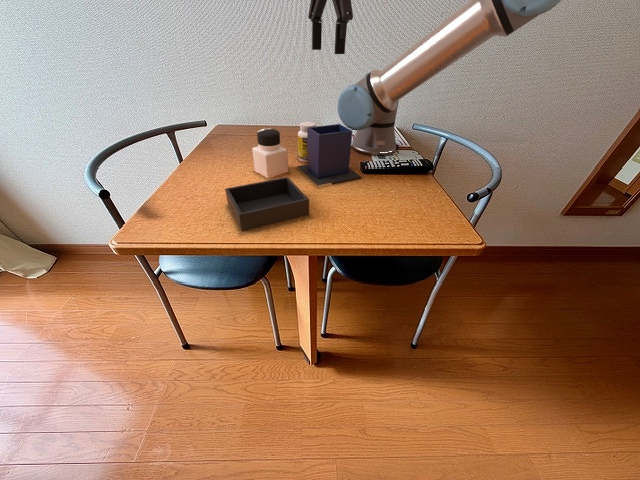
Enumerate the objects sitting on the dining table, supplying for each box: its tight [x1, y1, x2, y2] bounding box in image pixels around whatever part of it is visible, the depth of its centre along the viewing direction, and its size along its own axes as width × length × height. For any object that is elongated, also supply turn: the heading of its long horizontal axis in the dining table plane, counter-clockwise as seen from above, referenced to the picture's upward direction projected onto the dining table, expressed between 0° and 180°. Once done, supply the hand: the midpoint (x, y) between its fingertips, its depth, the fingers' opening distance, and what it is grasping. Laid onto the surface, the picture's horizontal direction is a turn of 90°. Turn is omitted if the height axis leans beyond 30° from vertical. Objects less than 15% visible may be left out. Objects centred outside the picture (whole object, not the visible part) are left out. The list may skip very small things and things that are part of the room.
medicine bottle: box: [251, 127, 289, 179], centre depth 80 cm, size 7×7×12 cm
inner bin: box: [306, 123, 353, 179], centre depth 80 cm, size 10×7×12 cm
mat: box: [296, 164, 362, 186], centre depth 84 cm, size 14×14×1 cm
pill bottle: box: [297, 121, 317, 163], centre depth 89 cm, size 6×6×11 cm
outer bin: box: [224, 176, 310, 232], centre depth 65 cm, size 15×12×5 cm
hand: (327, 52), depth 81 cm, fingers open, 13 cm apart
